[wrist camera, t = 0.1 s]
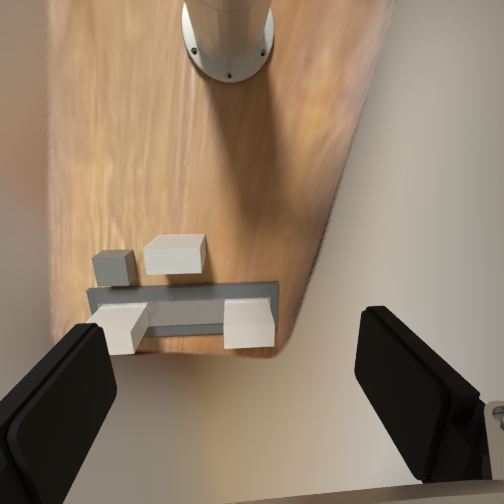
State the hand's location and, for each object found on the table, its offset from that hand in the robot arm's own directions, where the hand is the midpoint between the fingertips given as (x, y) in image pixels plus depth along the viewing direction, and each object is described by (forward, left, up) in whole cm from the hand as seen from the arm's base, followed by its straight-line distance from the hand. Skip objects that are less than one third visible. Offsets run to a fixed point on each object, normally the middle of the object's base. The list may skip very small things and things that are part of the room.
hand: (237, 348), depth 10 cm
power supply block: (+10, -20, -37) cm, 43 cm away
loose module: (+7, -9, -37) cm, 38 cm away
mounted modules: (+19, -9, -35) cm, 41 cm away
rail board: (+19, -9, -37) cm, 42 cm away
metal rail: (+19, -9, -35) cm, 41 cm away
